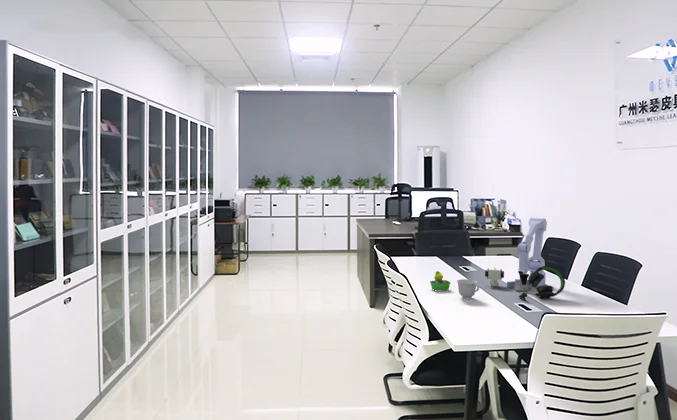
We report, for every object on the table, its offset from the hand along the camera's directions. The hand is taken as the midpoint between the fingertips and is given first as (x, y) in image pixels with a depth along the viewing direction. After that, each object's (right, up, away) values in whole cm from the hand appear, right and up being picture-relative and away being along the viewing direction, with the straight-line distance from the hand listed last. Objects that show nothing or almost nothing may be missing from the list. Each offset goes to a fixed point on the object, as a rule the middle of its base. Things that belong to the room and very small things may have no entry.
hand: (523, 283), depth 307 cm
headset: (+2, -6, -22) cm, 23 cm away
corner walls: (+1, -4, +2) cm, 4 cm away
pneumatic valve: (-15, -3, +11) cm, 19 cm away
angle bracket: (0, -4, -2) cm, 4 cm away
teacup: (-41, -6, -22) cm, 46 cm away
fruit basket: (-53, -4, +1) cm, 53 cm away
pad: (0, -4, 0) cm, 4 cm away
